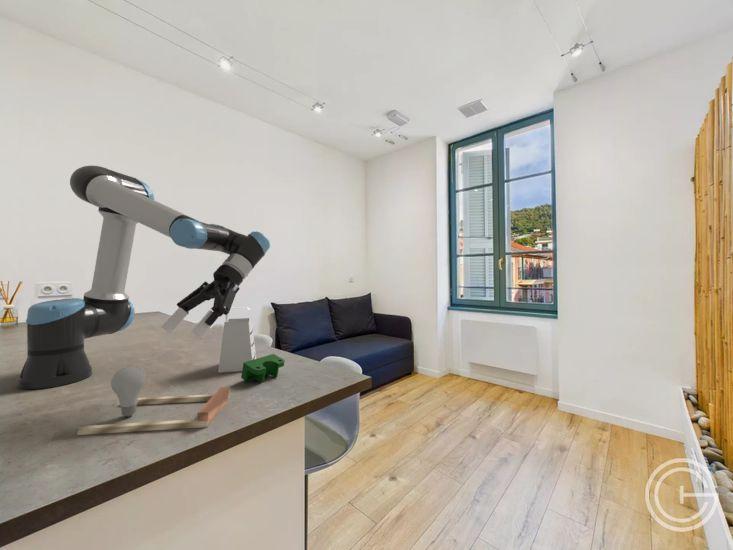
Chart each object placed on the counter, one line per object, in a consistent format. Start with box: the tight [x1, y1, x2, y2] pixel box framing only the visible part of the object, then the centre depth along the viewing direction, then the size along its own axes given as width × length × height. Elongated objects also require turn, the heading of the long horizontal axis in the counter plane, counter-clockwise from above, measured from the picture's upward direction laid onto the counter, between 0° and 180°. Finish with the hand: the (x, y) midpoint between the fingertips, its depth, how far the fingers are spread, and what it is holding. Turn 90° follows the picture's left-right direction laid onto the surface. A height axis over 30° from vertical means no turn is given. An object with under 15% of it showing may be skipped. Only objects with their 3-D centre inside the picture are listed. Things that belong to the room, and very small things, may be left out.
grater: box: [217, 306, 257, 373], centre depth 102 cm, size 10×10×20 cm
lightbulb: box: [110, 365, 147, 418], centre depth 67 cm, size 6×6×11 cm
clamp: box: [240, 353, 286, 383], centre depth 91 cm, size 12×6×9 cm, turn 142°
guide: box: [77, 386, 230, 436], centre depth 68 cm, size 24×14×3 cm, turn 98°
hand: (180, 332), depth 76 cm, fingers open, 13 cm apart
